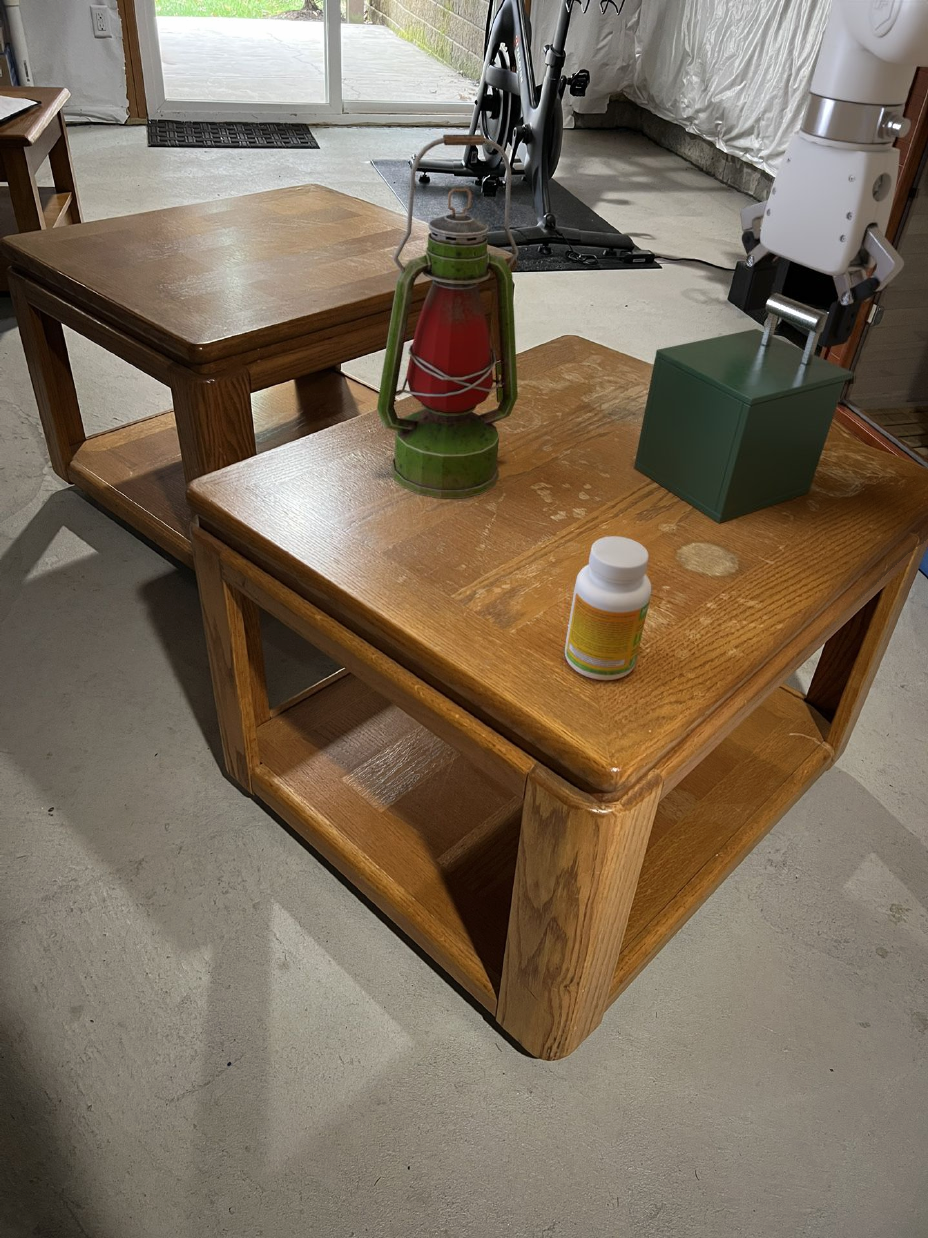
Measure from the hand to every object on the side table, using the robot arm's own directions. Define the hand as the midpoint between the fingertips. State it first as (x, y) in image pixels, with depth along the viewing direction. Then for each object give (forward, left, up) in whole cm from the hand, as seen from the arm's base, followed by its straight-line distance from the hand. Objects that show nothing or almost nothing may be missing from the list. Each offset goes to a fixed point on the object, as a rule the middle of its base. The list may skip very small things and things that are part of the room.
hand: (791, 325), depth 87 cm
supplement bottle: (-16, +34, -15) cm, 40 cm away
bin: (0, +5, -15) cm, 16 cm away
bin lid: (0, +4, -3) cm, 5 cm away
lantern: (+14, +29, -15) cm, 35 cm away
